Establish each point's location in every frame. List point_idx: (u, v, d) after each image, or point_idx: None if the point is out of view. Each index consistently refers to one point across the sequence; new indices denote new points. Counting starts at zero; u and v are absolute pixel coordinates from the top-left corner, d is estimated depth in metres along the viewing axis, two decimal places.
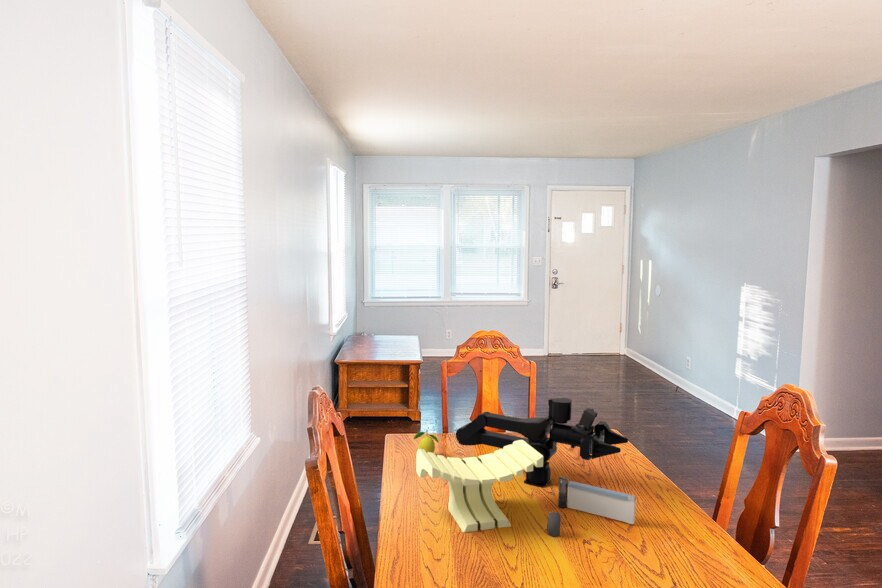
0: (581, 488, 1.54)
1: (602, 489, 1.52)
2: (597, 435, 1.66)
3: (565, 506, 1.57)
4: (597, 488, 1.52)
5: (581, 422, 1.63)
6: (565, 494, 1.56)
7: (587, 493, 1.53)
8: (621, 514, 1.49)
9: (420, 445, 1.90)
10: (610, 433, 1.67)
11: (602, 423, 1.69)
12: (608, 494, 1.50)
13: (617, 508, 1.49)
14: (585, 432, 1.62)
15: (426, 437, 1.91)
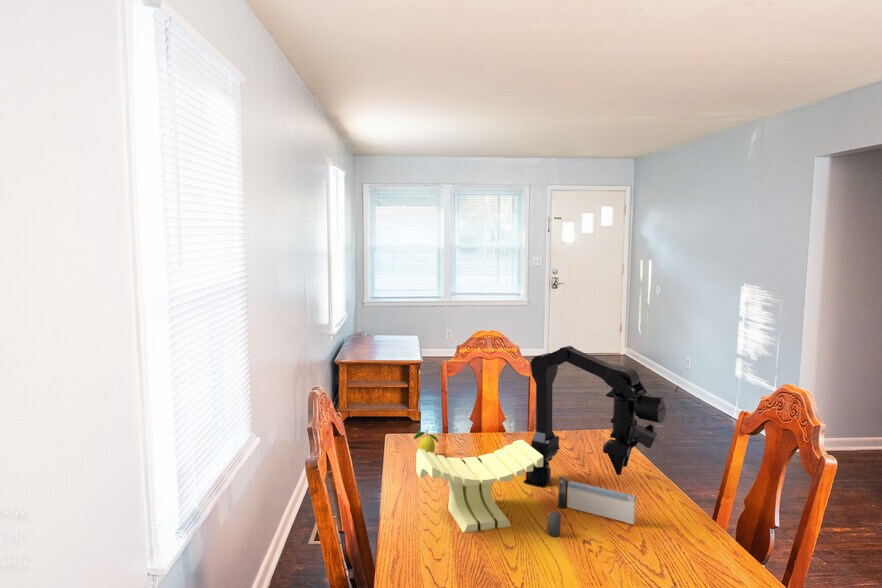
0: (581, 488, 1.54)
1: (602, 489, 1.52)
2: None
3: (565, 506, 1.57)
4: (597, 488, 1.52)
5: (641, 434, 1.50)
6: (565, 494, 1.56)
7: (587, 493, 1.53)
8: (621, 514, 1.49)
9: (420, 445, 1.90)
10: None
11: None
12: (608, 494, 1.50)
13: (617, 508, 1.49)
14: (630, 438, 1.51)
15: (426, 437, 1.91)
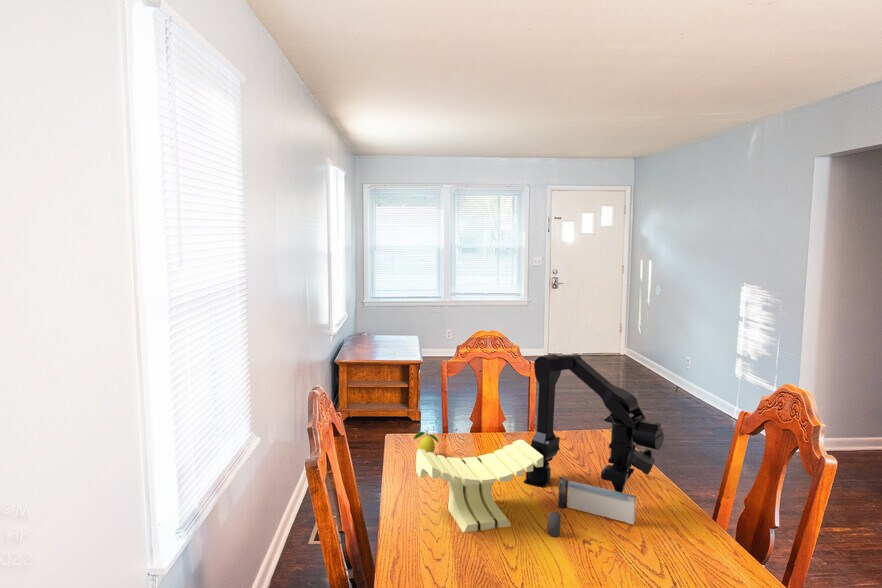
0: (581, 488, 1.54)
1: (602, 489, 1.52)
2: None
3: (565, 506, 1.57)
4: (597, 488, 1.52)
5: (639, 460, 1.50)
6: (565, 494, 1.56)
7: (587, 493, 1.53)
8: (621, 514, 1.49)
9: (420, 445, 1.90)
10: None
11: None
12: (608, 494, 1.50)
13: (617, 508, 1.49)
14: (628, 464, 1.51)
15: (426, 437, 1.91)
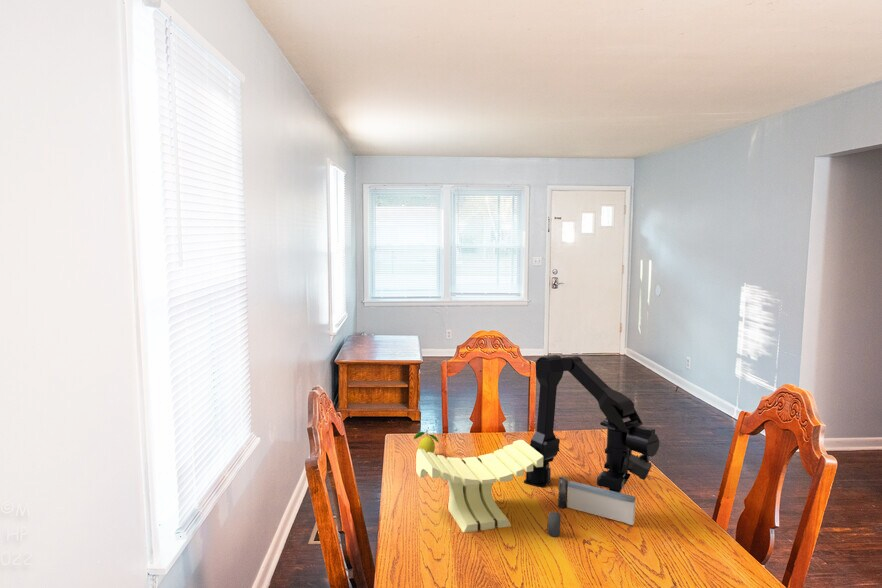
0: (581, 488, 1.53)
1: (602, 489, 1.51)
2: None
3: (565, 506, 1.57)
4: (597, 488, 1.52)
5: (635, 466, 1.47)
6: (565, 494, 1.56)
7: (587, 493, 1.53)
8: (621, 515, 1.49)
9: (420, 445, 1.90)
10: None
11: None
12: (608, 494, 1.50)
13: (617, 509, 1.49)
14: (625, 469, 1.48)
15: (426, 437, 1.91)
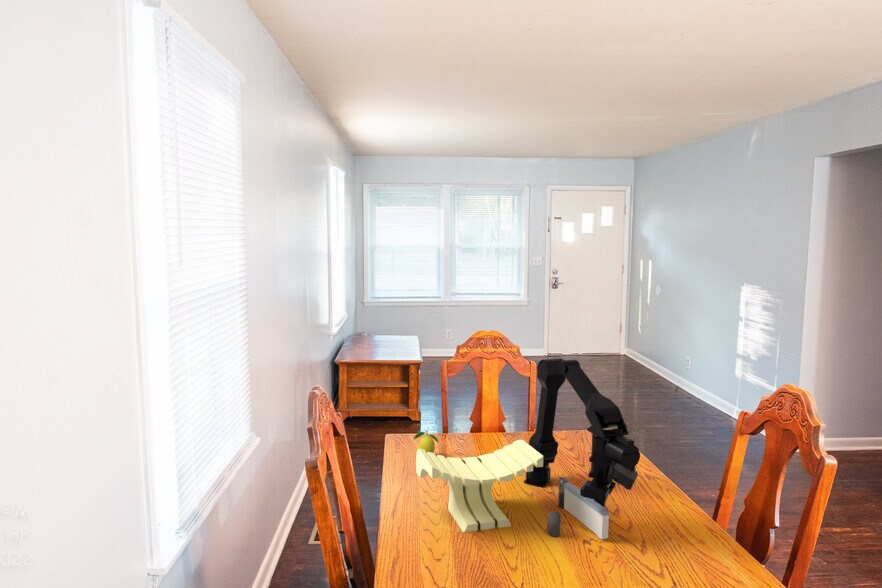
0: (571, 491, 1.52)
1: None
2: None
3: None
4: None
5: (621, 475, 1.41)
6: None
7: (575, 497, 1.50)
8: (595, 526, 1.42)
9: (420, 445, 1.90)
10: None
11: None
12: (587, 502, 1.45)
13: (593, 519, 1.43)
14: (609, 479, 1.42)
15: (426, 437, 1.91)
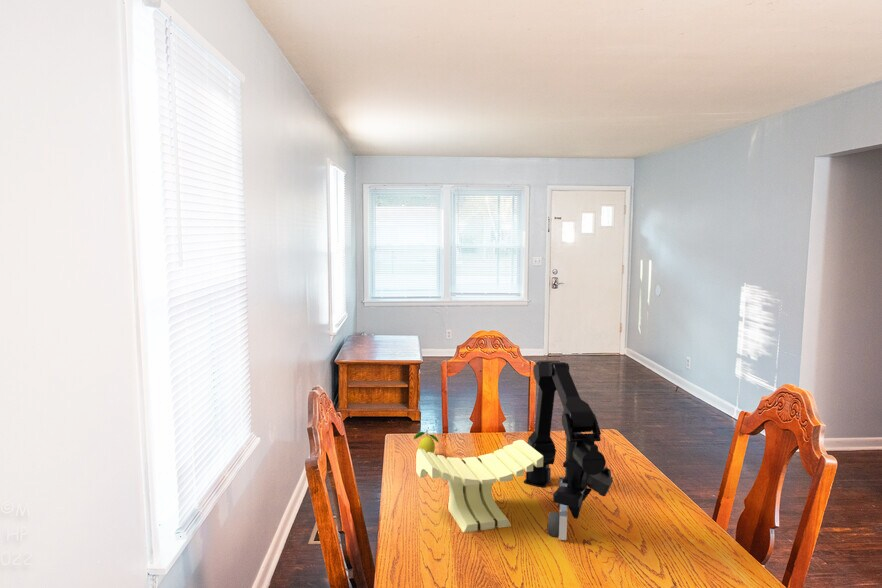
0: None
1: None
2: None
3: None
4: None
5: (595, 481, 1.37)
6: None
7: None
8: None
9: (420, 445, 1.90)
10: None
11: None
12: None
13: None
14: (583, 485, 1.38)
15: (426, 437, 1.91)
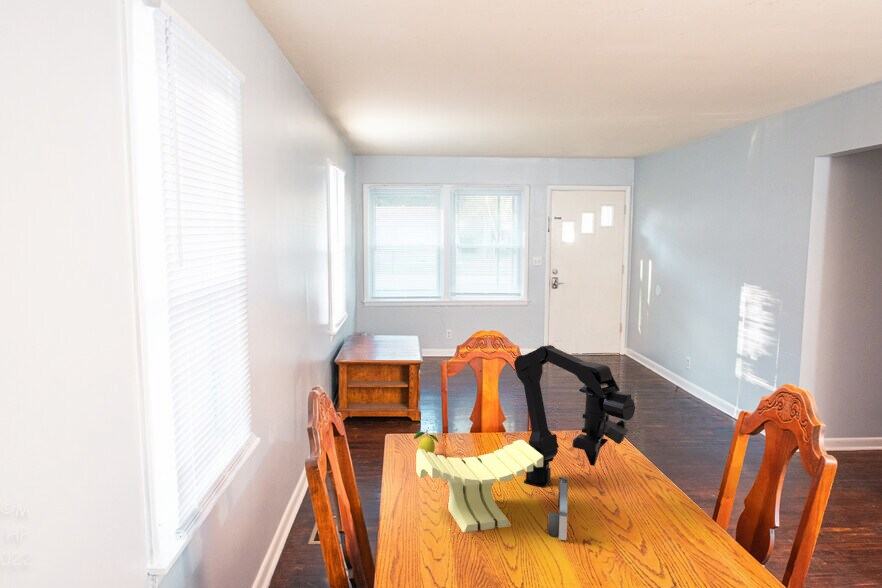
0: None
1: (563, 497, 1.47)
2: None
3: None
4: (563, 495, 1.48)
5: (611, 430, 1.52)
6: None
7: None
8: None
9: (420, 445, 1.90)
10: (598, 447, 1.57)
11: None
12: None
13: None
14: (601, 434, 1.53)
15: (426, 437, 1.91)
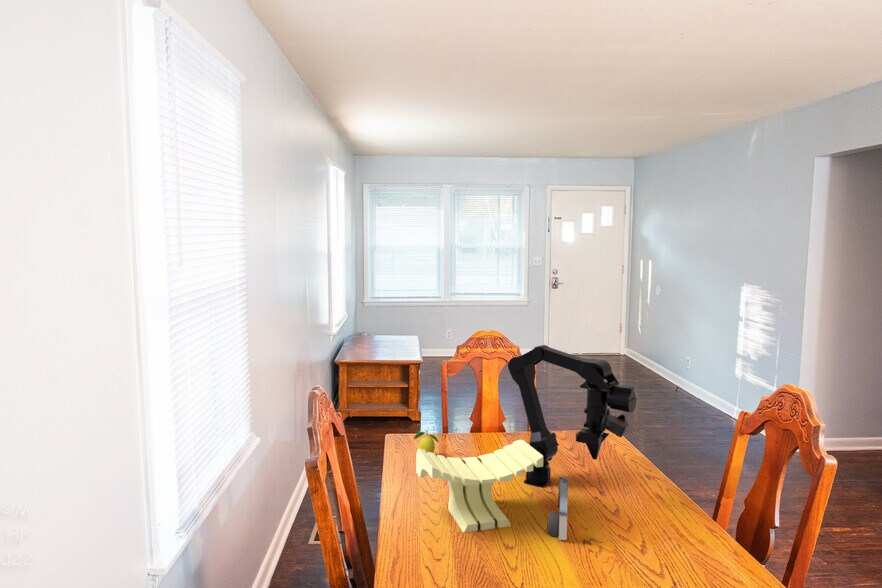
0: None
1: (563, 497, 1.47)
2: None
3: None
4: (563, 495, 1.48)
5: (612, 424, 1.56)
6: None
7: None
8: None
9: (420, 445, 1.90)
10: None
11: None
12: None
13: None
14: (602, 428, 1.57)
15: (426, 437, 1.91)
